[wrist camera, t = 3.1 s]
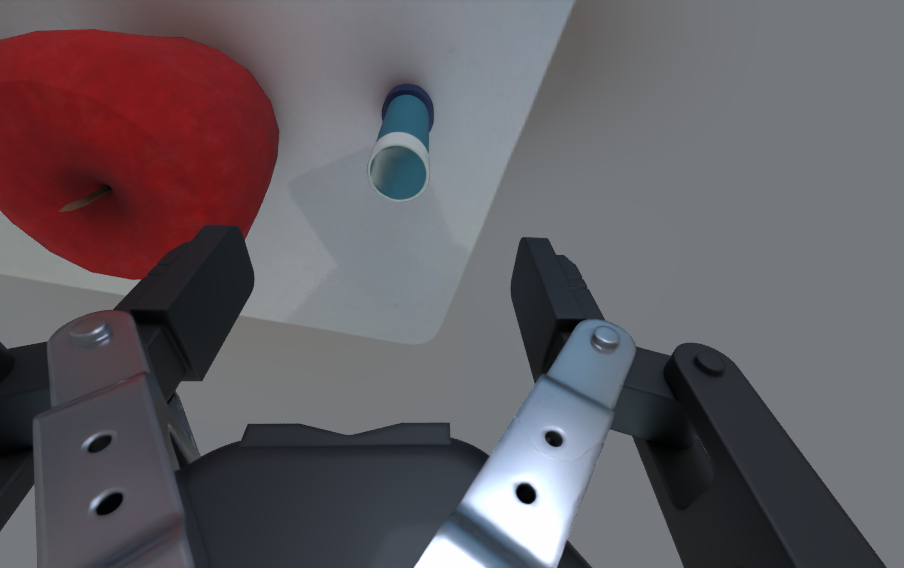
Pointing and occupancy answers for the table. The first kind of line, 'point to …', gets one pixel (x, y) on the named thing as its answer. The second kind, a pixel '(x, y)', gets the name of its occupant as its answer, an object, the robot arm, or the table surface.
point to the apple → (128, 144)
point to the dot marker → (402, 145)
